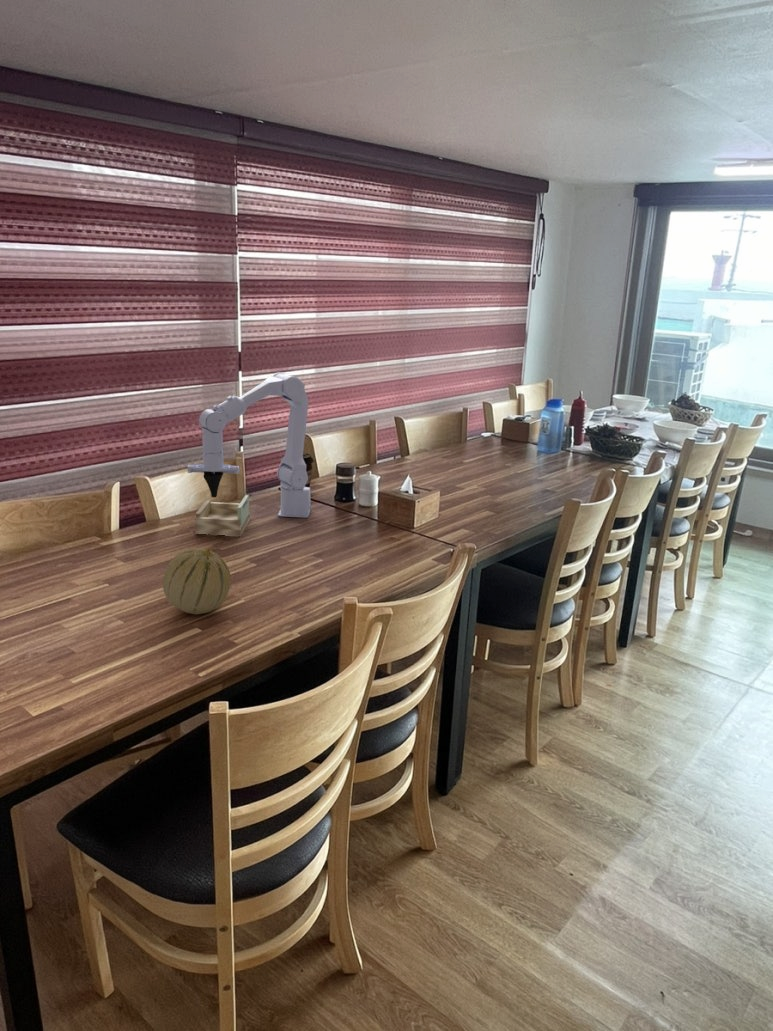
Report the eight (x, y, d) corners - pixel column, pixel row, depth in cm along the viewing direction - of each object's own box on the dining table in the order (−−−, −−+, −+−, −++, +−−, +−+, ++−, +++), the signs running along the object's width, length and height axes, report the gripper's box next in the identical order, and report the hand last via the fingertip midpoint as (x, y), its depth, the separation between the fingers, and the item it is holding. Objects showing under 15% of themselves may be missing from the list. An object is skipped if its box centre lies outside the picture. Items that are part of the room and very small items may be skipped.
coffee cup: (315, 488, 257) (316, 453, 253) (311, 495, 249) (311, 459, 245) (291, 486, 258) (291, 451, 254) (286, 493, 250) (286, 457, 246)
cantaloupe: (152, 608, 165) (148, 546, 160) (209, 590, 174) (207, 532, 170) (186, 632, 155) (183, 567, 150) (244, 612, 165) (243, 551, 160)
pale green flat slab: (249, 513, 222) (248, 495, 220) (241, 527, 210) (241, 507, 208) (245, 513, 222) (245, 495, 220) (237, 527, 210) (237, 507, 208)
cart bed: (250, 519, 224) (249, 500, 222) (240, 536, 209) (239, 517, 207) (208, 517, 224) (207, 498, 222) (195, 534, 209) (194, 514, 207)
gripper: (239, 448, 214) (240, 492, 218) (189, 447, 212) (191, 491, 217) (237, 454, 207) (238, 500, 211) (185, 453, 205) (187, 499, 210)
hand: (214, 496), depth 213 cm, fingers closed
